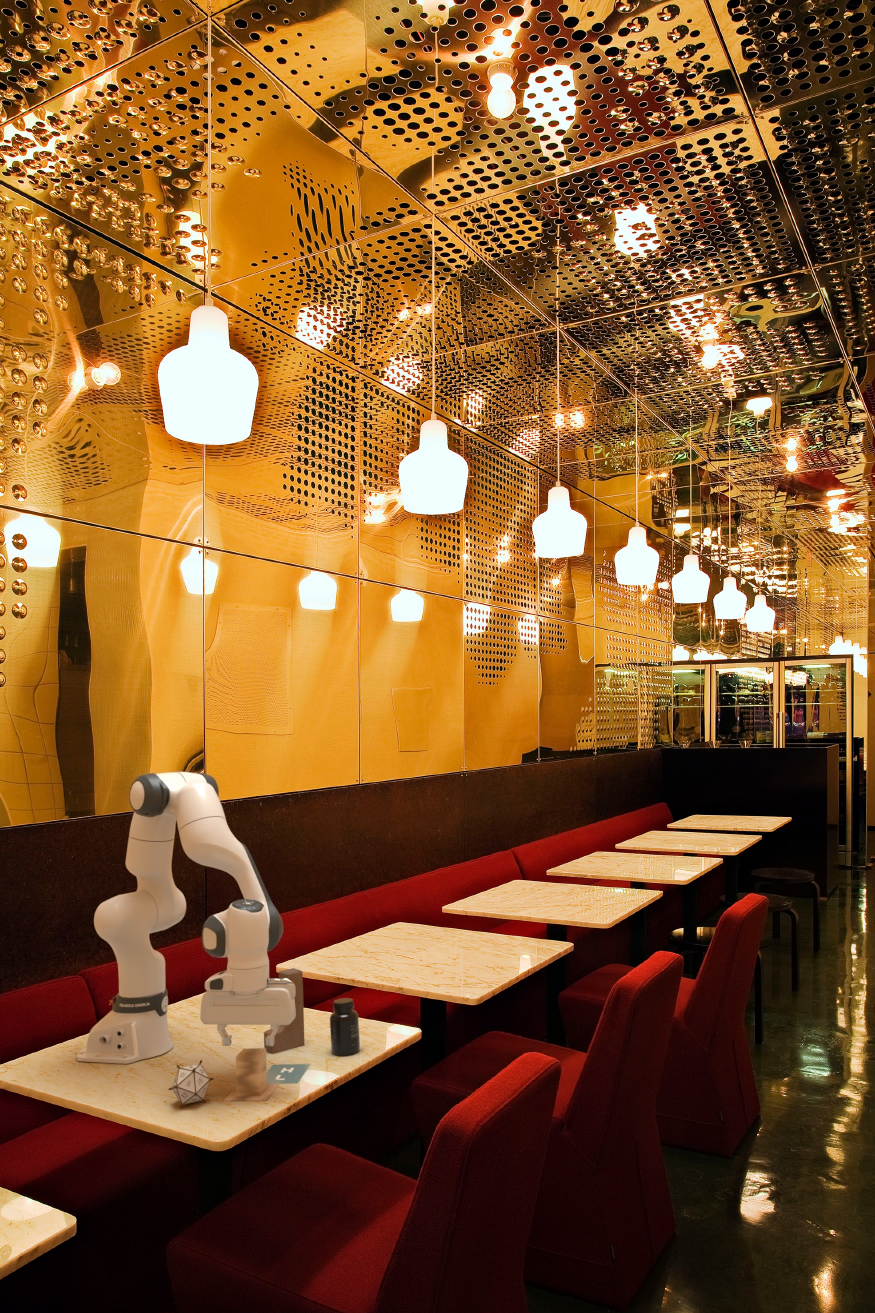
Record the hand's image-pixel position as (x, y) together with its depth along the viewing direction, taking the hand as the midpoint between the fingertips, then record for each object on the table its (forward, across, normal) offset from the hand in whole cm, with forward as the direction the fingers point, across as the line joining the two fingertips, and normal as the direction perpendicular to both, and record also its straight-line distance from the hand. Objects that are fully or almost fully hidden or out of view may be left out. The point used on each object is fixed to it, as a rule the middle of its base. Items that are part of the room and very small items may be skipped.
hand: (248, 1045), depth 186 cm
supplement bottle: (+10, -16, -25) cm, 31 cm away
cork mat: (+10, -1, 0) cm, 10 cm away
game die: (+10, +10, +5) cm, 16 cm away
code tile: (+10, -5, -11) cm, 15 cm away
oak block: (+9, -1, 0) cm, 9 cm away
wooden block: (+10, 0, -29) cm, 31 cm away
